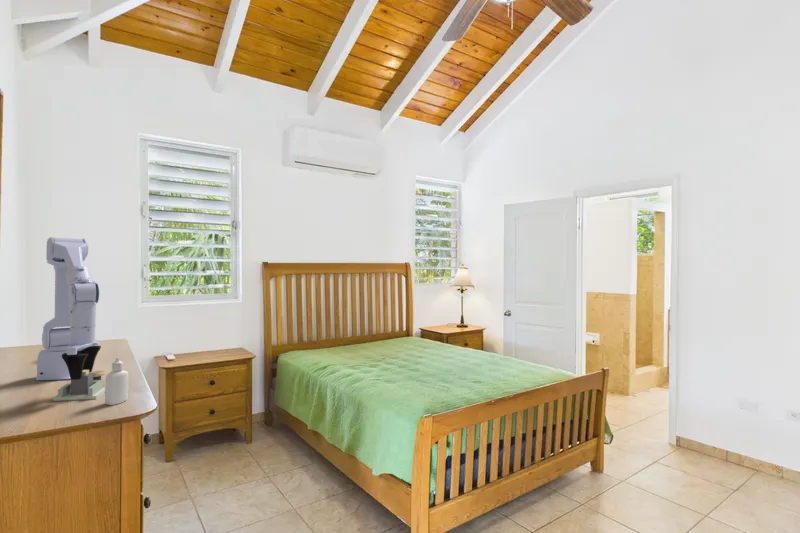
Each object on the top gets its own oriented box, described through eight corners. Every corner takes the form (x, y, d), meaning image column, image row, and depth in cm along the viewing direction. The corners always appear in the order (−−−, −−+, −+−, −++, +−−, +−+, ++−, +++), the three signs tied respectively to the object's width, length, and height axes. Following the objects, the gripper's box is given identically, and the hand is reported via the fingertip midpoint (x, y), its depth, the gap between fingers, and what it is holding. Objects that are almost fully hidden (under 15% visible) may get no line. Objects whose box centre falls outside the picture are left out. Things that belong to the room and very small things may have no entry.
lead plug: (70, 394, 123) (71, 372, 123) (76, 390, 127) (77, 369, 127) (87, 394, 124) (87, 372, 124) (92, 390, 128) (93, 368, 128)
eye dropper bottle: (102, 402, 120) (103, 357, 120) (125, 398, 125) (127, 354, 124) (106, 406, 117) (107, 360, 117) (130, 402, 122) (132, 357, 121)
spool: (80, 388, 132) (81, 375, 132) (87, 384, 137) (88, 370, 136) (100, 388, 133) (100, 374, 133) (106, 383, 138) (106, 370, 138)
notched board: (53, 400, 120) (53, 389, 120) (66, 392, 128) (66, 381, 128) (96, 398, 123) (96, 387, 123) (106, 390, 131) (107, 380, 131)
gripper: (89, 330, 120) (87, 382, 120) (108, 322, 134) (107, 368, 134) (58, 330, 118) (56, 383, 118) (80, 322, 132) (79, 369, 132)
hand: (81, 375), depth 126 cm, fingers open, 7 cm apart
